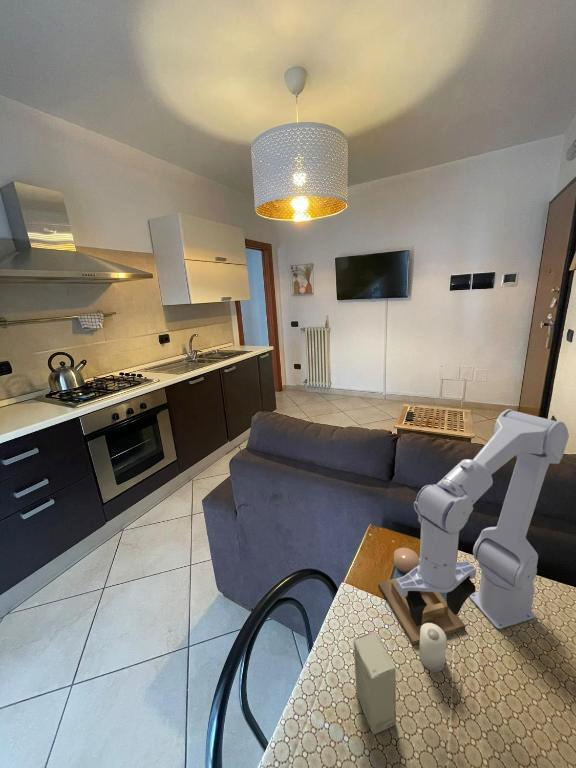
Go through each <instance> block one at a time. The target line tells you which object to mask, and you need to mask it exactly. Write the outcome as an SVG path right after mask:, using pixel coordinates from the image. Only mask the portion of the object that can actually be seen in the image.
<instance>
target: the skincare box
mask: <svg viewBox="0 0 576 768" xmlns="http://www.w3.org/2000/svg"><path fill="white" fill-rule="evenodd" d="M353 653H354V654H353V655H354V656H353V657H354V658H353V659H354V673H355V674H354V675H355V694H356V696H357V699H358V702H359V704H360V706H361V709H362V711H363V714H364V716H365V718H366V721H367V723H368V726H369V727H370V730H371V732H372V734H373V735H376V734H378V733H381V732H383V731H385V730H387V729H389V728H391V727H393V726H396V724H397V700H396V699H397V697H396V696H397V695H396V694H397V693H396V690H397V688H396V687H397V686H396V681H397V680H396V666H395V664H394V662H393V660H392V658H391V657H390V655H389V652H388V650H387V649H386V647H385V646H384V644H383V642H382V641H381V638H380V637H379V636H378V634H377V632H376V631H372V632H371V633H367V634H365V635H362V636H359V637H356V638H354V639H353Z"/></svg>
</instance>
